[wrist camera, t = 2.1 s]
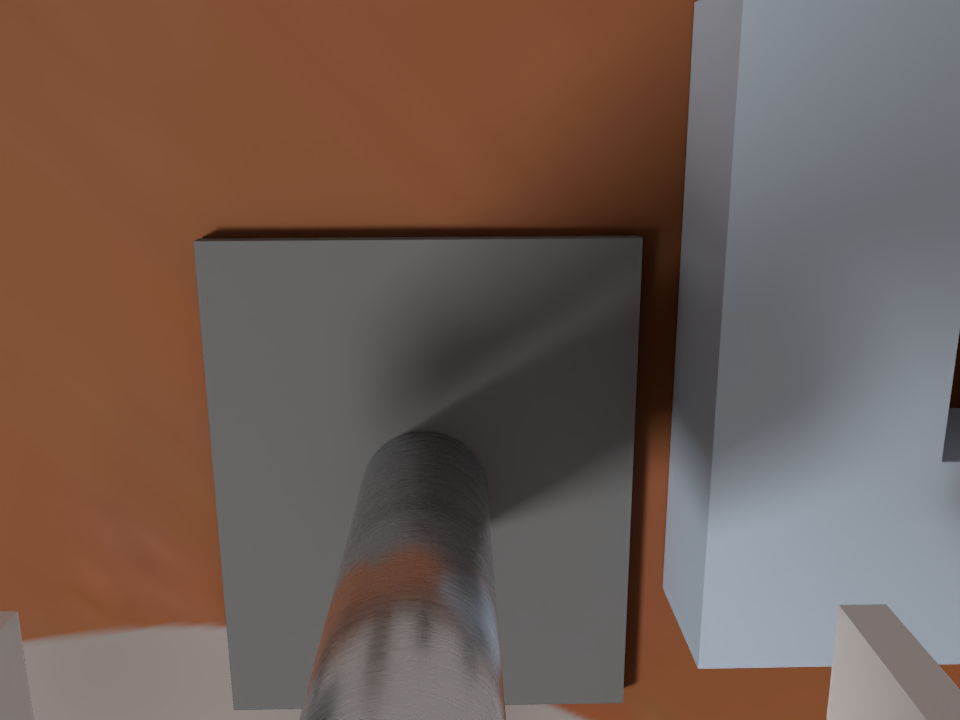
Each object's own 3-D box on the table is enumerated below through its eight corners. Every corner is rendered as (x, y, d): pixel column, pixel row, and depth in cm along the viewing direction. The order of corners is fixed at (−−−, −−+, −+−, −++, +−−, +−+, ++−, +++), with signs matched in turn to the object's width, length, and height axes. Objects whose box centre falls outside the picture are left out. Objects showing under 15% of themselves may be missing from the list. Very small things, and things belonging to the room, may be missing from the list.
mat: (238, 698, 24) (234, 709, 23) (199, 238, 20) (193, 241, 20) (619, 690, 24) (622, 702, 23) (638, 235, 21) (642, 238, 20)
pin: (364, 547, 22) (277, 949, 11) (359, 431, 21) (261, 746, 11) (487, 545, 22) (515, 944, 11) (487, 429, 21) (517, 741, 11)
